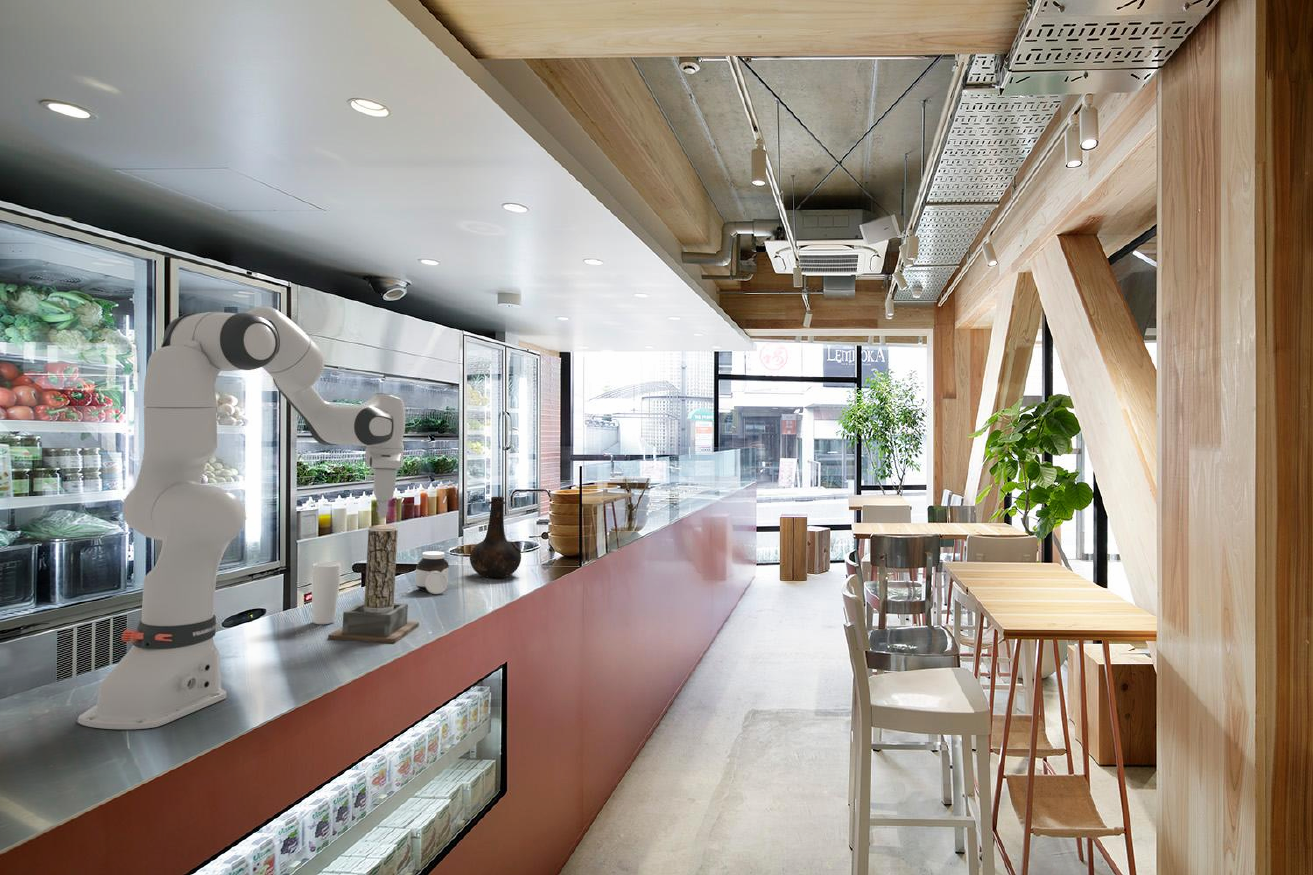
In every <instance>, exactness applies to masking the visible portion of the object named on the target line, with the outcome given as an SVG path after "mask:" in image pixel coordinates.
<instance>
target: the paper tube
mask: <svg viewBox="0 0 1313 875" xmlns="http://www.w3.org/2000/svg"><path fill="white" fill-rule="evenodd" d="M398 530H399V529H398V526H393V525H372V526H369V527H368V531H367V534H368V535H367V547H366V548H367V551H366V569H365V584H364V585H365V586H364V587H365V588H364V589H365V590H364V602H365V603H364V612H371V613H389V612H391V611H392V610H393V607H394V603H395V588H396V587H395V586H396V583H395V582H396V569H397V568H396V567H397V566H396V565H397V553H398V552H397V547H398V533H399V532H398Z"/></svg>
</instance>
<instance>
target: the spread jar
mask: <svg viewBox="0 0 1313 875" xmlns="http://www.w3.org/2000/svg"><path fill="white" fill-rule="evenodd" d="M445 555H446V554H445V552H444V551H435V550H434V551H433V550H431V551H430V550H429V551H423V552H422V553H421V559H420V561H418V563H417V564H416V568H415V574H414V575H415V577H414V578H415V580H414V582H415V583H414V584H415V586H416V588H417V589H419V590H420V591H421V592H427V593H430V594H432V595H439V594H441V593H444V592H445V591H446V590H447V588H448V584H449V583H448V582H449V578H450V566H449V563H448V560H446V559H445Z"/></svg>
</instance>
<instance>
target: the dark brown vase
mask: <svg viewBox="0 0 1313 875" xmlns="http://www.w3.org/2000/svg"><path fill="white" fill-rule="evenodd" d="M504 499H505V497H504V496H492V497H491V500H490V501H488V504H490V512H489V519H488V520H489V521H488V526H487V531H486V534H485V536H484V539H483V540H482V541H481V542H478V543H477V544H476V545H475V546H474V547H473V548H472V549H471V550H470V554H469V563H470V566H471V567H472V569H473V570H474V572H475V573H476V574H478V575H479V576H482V577H485V578H490V579H491V578H493V579H497V578H498V579H501V578H505V577H510V576H511V575H513V574H514V573H515V572H516V571H517V569H518V568H519V566H520V564H521V561H522V553H521V552H522V550H521V548H520V547H519V546H518V544H517V543H516V542H514V541H511V542H510V541H508V540H507V537H506V534H505V522H504V520H505V519H504V505H506V504H507V502H506V501H504ZM500 577H501V578H500Z"/></svg>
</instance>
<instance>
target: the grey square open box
mask: <svg viewBox="0 0 1313 875" xmlns="http://www.w3.org/2000/svg"><path fill="white" fill-rule="evenodd" d="M364 603H365V601H362V602H361V603H358V604H357V605H354V606H353V607H350V608H349V609H347V610H345V611H343V613H342V614H343V615H342V627H340V628H338V629H336V630H334V631H333V632H331V633H328V635H327V636H328V637H327V640H333V639H335V641H352V642H353V641H354V642H366V643H367V642H368V643H370V642H371V643H385V644H388V643H389V644H396V643H397V642H399V641H400V640H401V639H403V638H404V637H405V636H407V635H408V634H409V633H411V632H413V631H414V630H415V629H417V628H418V627H419V626H420V622H419V621H409V620H408V613H409V612H408V608H409V604H408V603H395V602H394V607H393V610H392V611H391V612H389V613H371V612H364Z"/></svg>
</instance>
